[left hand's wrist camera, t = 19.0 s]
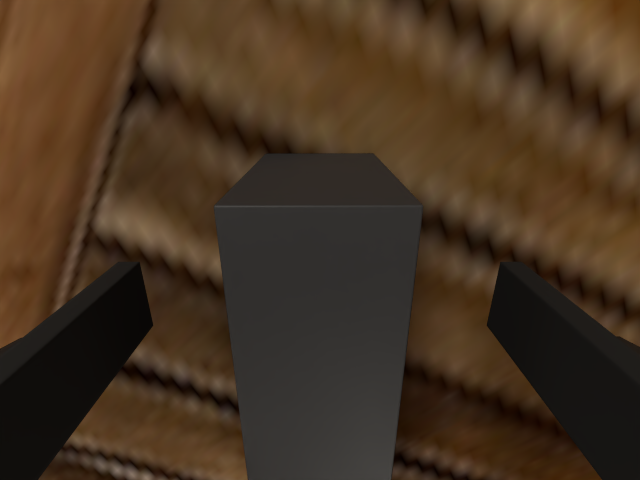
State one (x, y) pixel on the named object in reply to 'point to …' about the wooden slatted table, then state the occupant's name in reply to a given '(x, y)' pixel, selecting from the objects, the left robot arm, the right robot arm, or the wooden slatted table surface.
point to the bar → (319, 312)
